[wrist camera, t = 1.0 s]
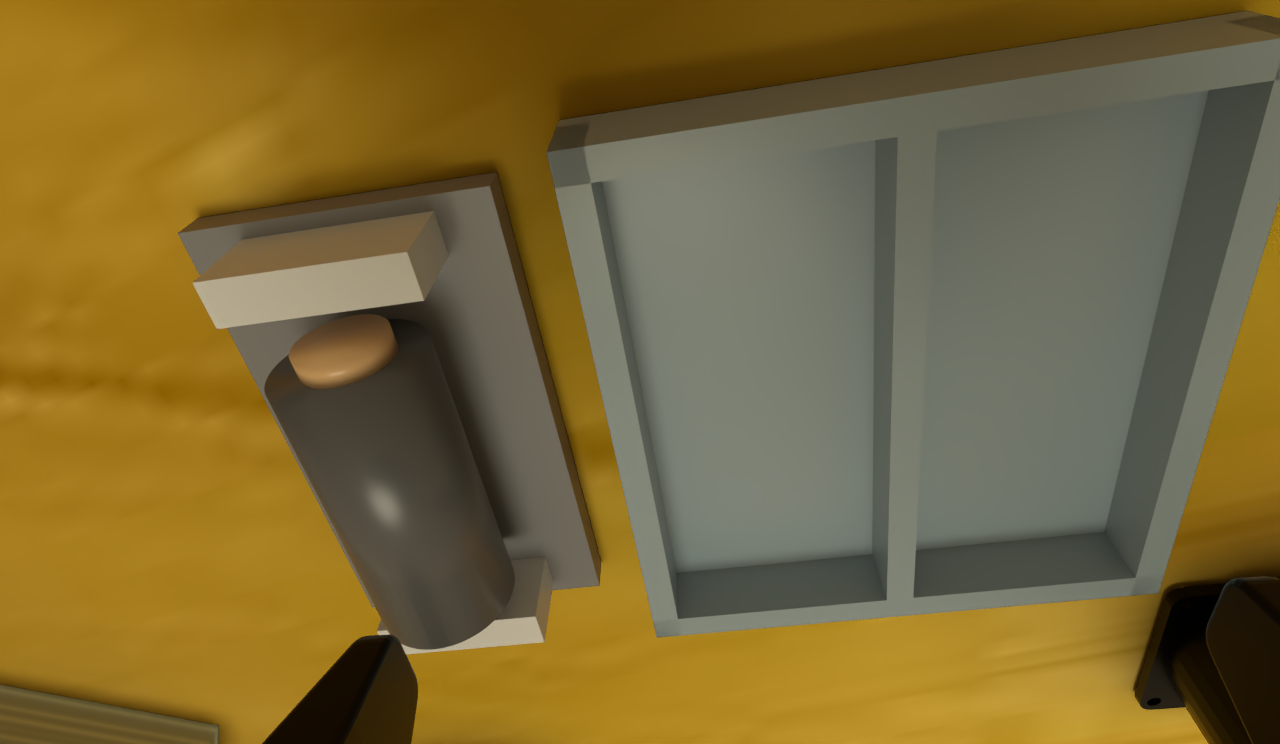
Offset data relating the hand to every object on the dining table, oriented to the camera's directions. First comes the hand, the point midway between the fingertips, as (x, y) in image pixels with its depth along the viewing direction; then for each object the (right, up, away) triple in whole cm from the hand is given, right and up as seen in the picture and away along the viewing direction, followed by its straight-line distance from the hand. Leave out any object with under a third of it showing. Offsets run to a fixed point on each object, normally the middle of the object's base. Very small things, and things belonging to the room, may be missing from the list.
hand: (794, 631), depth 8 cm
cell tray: (+5, +3, +13) cm, 15 cm away
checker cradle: (-8, +2, +15) cm, 17 cm away
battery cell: (-8, +1, +14) cm, 16 cm away
